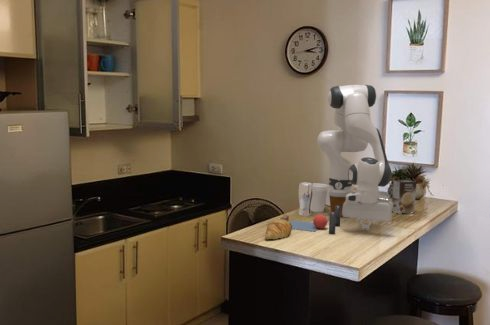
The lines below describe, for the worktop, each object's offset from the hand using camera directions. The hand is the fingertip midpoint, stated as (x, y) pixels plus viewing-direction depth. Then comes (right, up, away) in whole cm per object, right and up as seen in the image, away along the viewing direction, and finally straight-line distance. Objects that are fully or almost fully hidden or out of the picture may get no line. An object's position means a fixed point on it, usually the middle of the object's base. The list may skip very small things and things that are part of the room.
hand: (365, 229), depth 216 cm
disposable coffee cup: (-6, +2, +30) cm, 31 cm away
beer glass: (-22, +3, +31) cm, 38 cm away
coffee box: (+28, +3, +39) cm, 48 cm away
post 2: (-10, 0, +11) cm, 15 cm away
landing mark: (-25, 0, +9) cm, 27 cm away
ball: (-18, +3, +5) cm, 19 cm away
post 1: (-14, -2, -2) cm, 15 cm away
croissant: (-37, -2, -5) cm, 38 cm away
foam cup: (-15, +4, +39) cm, 42 cm away
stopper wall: (-34, +1, +12) cm, 36 cm away
